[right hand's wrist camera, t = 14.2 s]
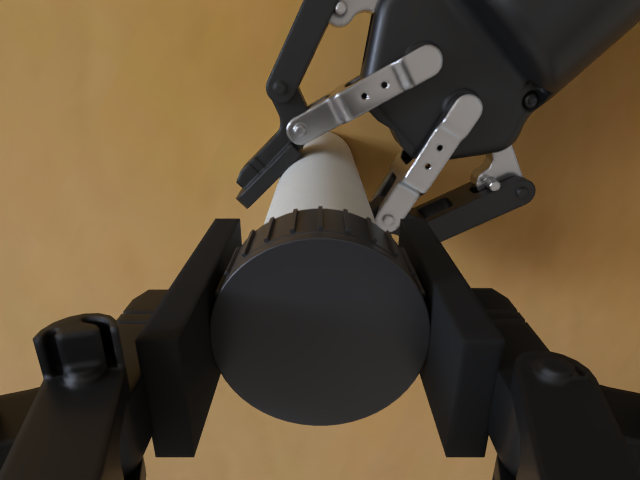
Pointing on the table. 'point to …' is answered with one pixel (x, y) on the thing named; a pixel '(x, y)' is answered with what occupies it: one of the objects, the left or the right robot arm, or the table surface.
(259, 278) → the lid
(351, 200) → the white cylinder
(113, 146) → the table surface
